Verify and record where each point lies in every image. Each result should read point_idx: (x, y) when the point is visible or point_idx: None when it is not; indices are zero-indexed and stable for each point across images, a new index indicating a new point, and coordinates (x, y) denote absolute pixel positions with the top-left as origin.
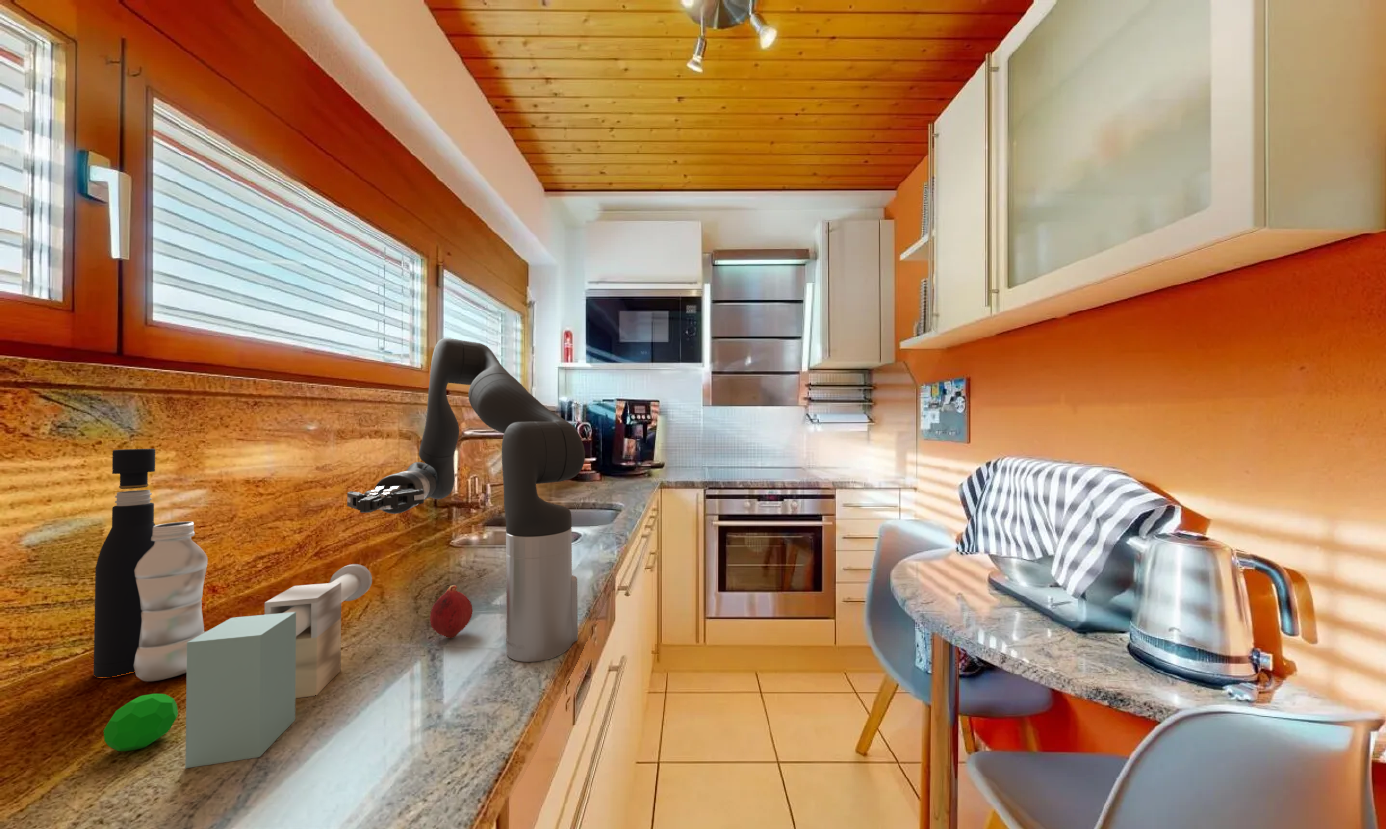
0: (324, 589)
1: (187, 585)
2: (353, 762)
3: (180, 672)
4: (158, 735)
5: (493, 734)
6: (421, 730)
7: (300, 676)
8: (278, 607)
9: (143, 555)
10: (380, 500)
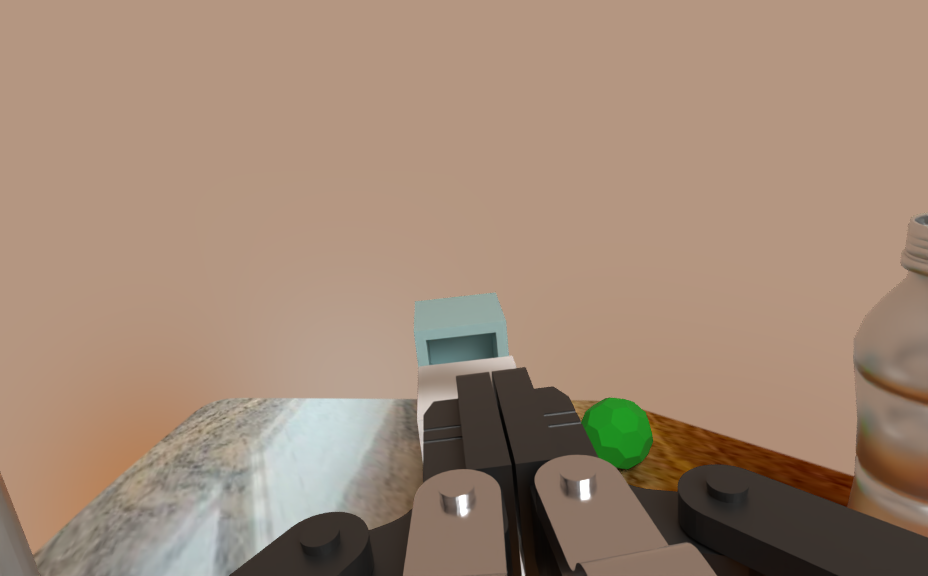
0: (431, 392)
1: (856, 401)
2: (321, 436)
3: None
4: None
5: (166, 460)
6: (251, 468)
7: None
8: None
9: None
10: (423, 457)
